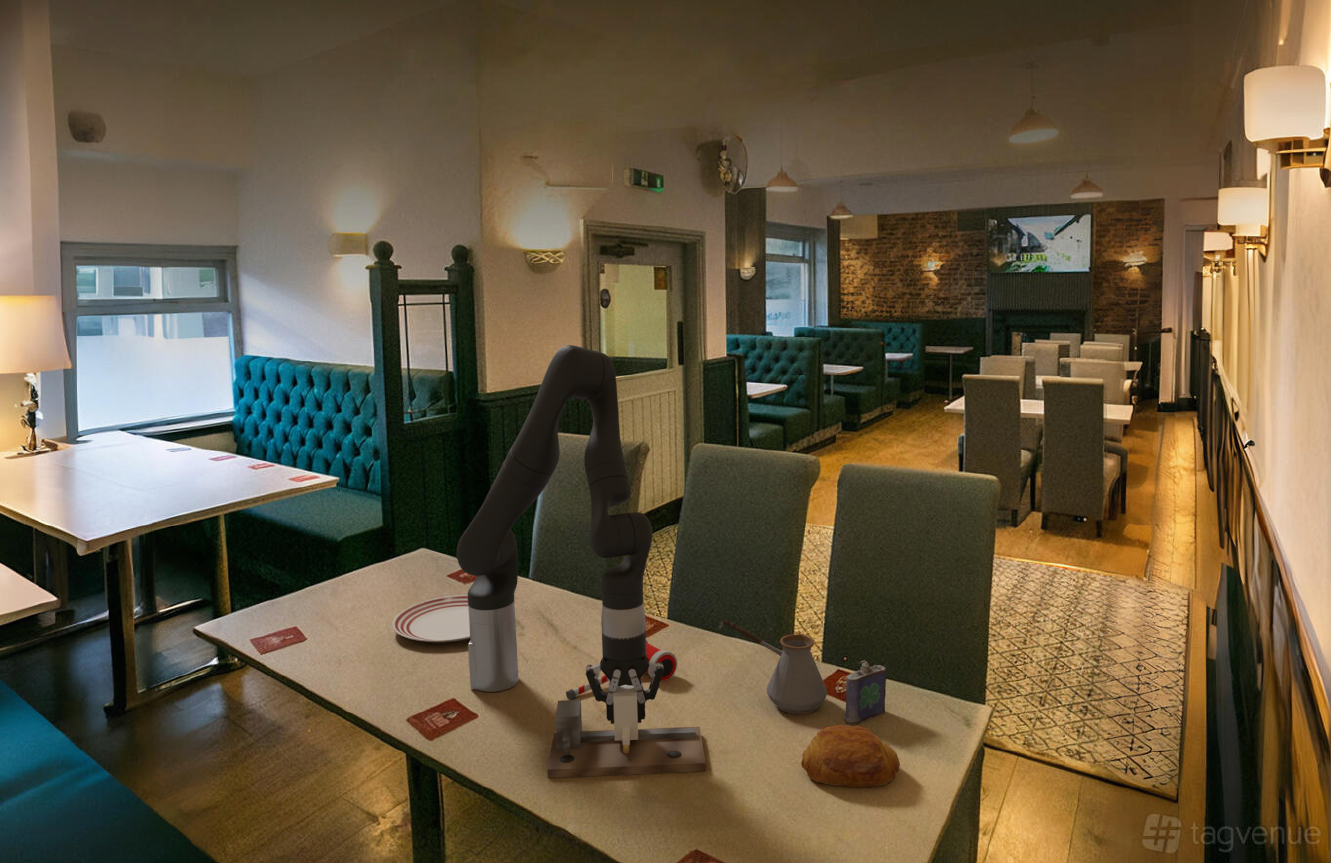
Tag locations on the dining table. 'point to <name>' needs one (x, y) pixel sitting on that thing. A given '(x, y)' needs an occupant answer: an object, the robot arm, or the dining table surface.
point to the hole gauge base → (620, 749)
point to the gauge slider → (625, 715)
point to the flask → (865, 693)
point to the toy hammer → (654, 657)
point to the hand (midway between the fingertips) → (626, 720)
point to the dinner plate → (435, 620)
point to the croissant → (850, 758)
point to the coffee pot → (792, 673)
